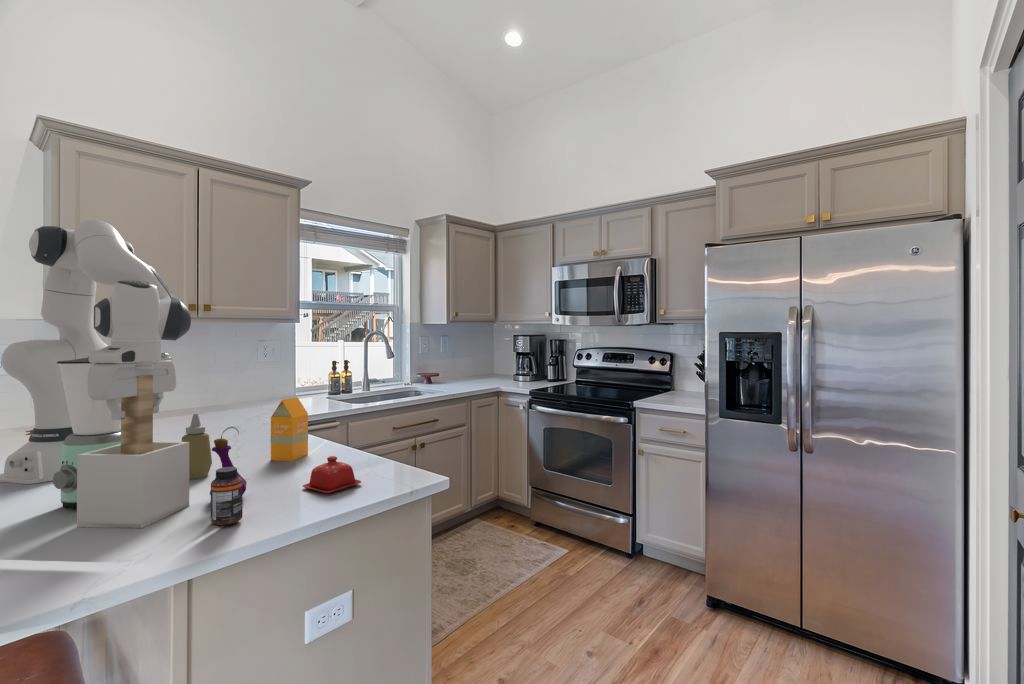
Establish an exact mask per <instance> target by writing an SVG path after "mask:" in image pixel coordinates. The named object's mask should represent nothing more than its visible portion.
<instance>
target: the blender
mask: <svg viewBox="0 0 1024 684" xmlns="http://www.w3.org/2000/svg"><path fill="white" fill-rule="evenodd" d="M57 364H58V365H59V368H60V370H61V376H62V382H63V387H64V392H65V397H66V402H67V407H68V411H69V416H70V421H71V426H72V430H73V434H70V435H69V436H68V437H66V439H65V441H64V442H63V444H62V449H61V468H60V471H58V472H56V473H55V474H54V476H53V481H52V483H53V485H54V488H56V489H57V490H60V502H61V504H62V508H77V455H79V454H83V453H87V452H91V451H95V450H99V449H103V448H107V447H111V446H115V445H119V444H121V419H120V420H112V418H111V411H110V409H109V408H108V406H107V405H106V400H92V399H91V398H90V396H89V395H88V372H89V369H90V367H91V366H92V365H93V364H96V363H90V362H89V356H88V358H81V359H75V360H66V361H58V362H57ZM119 405H120V408H121V403H120V404H119Z"/></svg>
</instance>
